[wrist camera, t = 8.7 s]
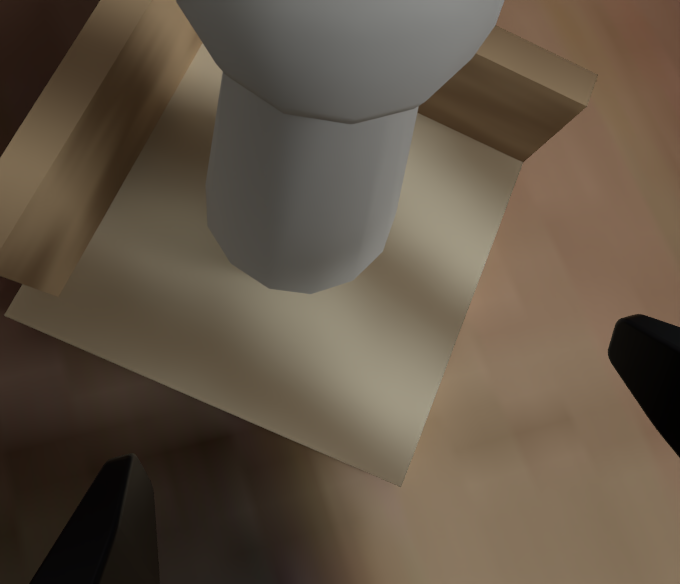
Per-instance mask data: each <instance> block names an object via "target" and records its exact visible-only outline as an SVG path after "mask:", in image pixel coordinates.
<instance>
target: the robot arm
mask: <svg viewBox="0 0 680 584" xmlns="http://www.w3.org/2000/svg"><path fill="white" fill-rule="evenodd" d="M608 356H609V359H610V362H611V363H612V365H613V366H614V368H615V369H616V371H617V372H618V374H619V375H620V377H621V378H622V380H623V381H624V383H625V384H626V386H627V387H628V389H629V390H630V392H631V393H632V394H633V396H634V397H635V399H636V400H637V402H638V403H639V405H640V406H641V408H642V409H643V411H644V412H645V414H646V415H647V417H648V418H649V419H650V421H651V422H652V424H653V425H654V426H655V428H656V429H657V430H658V432H659V433H660V434H661V436H662V437H663V438H664V439H665V441H666V442H667V443H668V444H669V445H670V447H671V448H672V449H673V450H674V451H675V453H676V454H677V455H678V456H679V457H680V327H678V326H675V325H672V324H669V323H666V322H663V321H660V320H657V319H654V318H651V317H648V316H645V315H642V314H636V315H632V316H628V317H624V318H621V319H619V320H618V321H617V322H616V325H615V328H614V331H613V334H612V338H611V341H610V345H609V348H608ZM29 584H160V578H159V561H158V547H157V532H156V517H155V502H154V492H153V487H152V484H151V481H150V479H149V477H148V475H147V474H146V472H145V470H144V468H143V466H142V464H141V463H140V461H139V459H138V457H137V456H136V455H135V454H133V453H131V454H130V453H129V454H126V455H122V456H118V457H115V458H111V459H109V460H108V461H107V462H106V463H105V464H104V465H103V467H102V468H101V470H100V472H99V473H98V475H97V476H96V478H95V480H94V481H93V483H92V484H91V486H90V488H89V489H88V491H87V492H86V494H85V496H84V497H83V499H82V500H81V502H80V504H79V505H78V507H77V508H76V510H75V512H74V513H73V515H72V516H71V518H70V520H69V521H68V523H67V524H66V526H65V527H64V529H63V531H62V532H61V534H60V535H59V537H58V539H57V540H56V542H55V543H54V545H53V547H52V548H51V550H50V551H49V553H48V555H47V556H46V558H45V559H44V561H43V563H42V564H41V566H40V567H39V569H38V571H37V572H36V574H35V575H34V577H33V579H32V580H31V582H30V583H29Z"/></svg>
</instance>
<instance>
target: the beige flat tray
mask: <svg viewBox="0 0 680 584" xmlns="http://www.w3.org/2000/svg"><path fill="white" fill-rule="evenodd" d="M222 73H223V71H222V70H221V69H220V68H219V67H218V66H217V64H216V63H215V61H214V60H213V58H212V57H211V55H210V54H209V52H208V51H207V49H206V47H205V46H204V44H203V43H202V41H201V40H200V38H199V37H198V35H197V33H196V32H195V30H194V29H193V27H192V26H191V24H190V23H189V21H188V19H187V18H186V16H185V15H184V13H183V12H182V10H181V9H180V7H179V5H178V4H177V2H176V0H100V2H99V3H98V5H97V6H96V8H95V10H94V11H93V13H92V14H91V16H90V17H89V19H88V21H87V22H86V24H85V25H84V27H83V28H82V30H81V32H80V33H79V35H78V36H77V38H76V39H75V41H74V43H73V44H72V46H71V47H70V49H69V50H68V52H67V54H66V55H65V57H64V58H63V60H62V61H61V63H60V65H59V66H58V68H57V69H56V71H55V73H54V74H53V76H52V77H51V79H50V80H49V82H48V84H47V85H46V87H45V88H44V90H43V91H42V93H41V95H40V96H39V98H38V99H37V101H36V102H35V104H34V106H33V107H32V109H31V110H30V112H29V113H28V115H27V117H26V118H25V120H24V121H23V123H22V124H21V126H20V128H19V129H18V131H17V132H16V134H15V135H14V137H13V139H12V140H11V142H10V143H9V145H8V146H7V148H6V150H5V151H4V153H3V154H2V156H1V157H0V276H2V277H4V278H7V279H10V280H13V281H15V282H18V283H21V284H22V286H21V287H20V289H19V291H18V293H17V294H16V296H15V298H14V299H13V301H12V303H11V305H10V306H9V308H8V310H7V311H6V313H5V315H4V316H6V317H9V318H11V319H13V320H16V321H18V322H20V323H23V324H25V325H27V326H29V327H32V328H34V329H36V330H39V331H41V332H43V333H46V334H48V335H50V336H53V337H55V338H57V339H60V340H62V341H64V342H66V343H69V344H71V345H73V346H76V347H78V348H80V349H83V350H85V351H87V352H90V353H92V354H94V355H97V356H99V357H101V358H103V359H106V360H108V361H110V362H113V363H115V364H117V365H120V366H122V367H124V368H127V369H129V370H131V371H133V372H136V373H138V374H140V375H143V376H145V377H147V378H150V379H152V380H154V381H157V382H159V383H161V384H164V385H166V386H168V387H170V388H173V389H175V390H177V391H180V392H182V393H184V394H187V395H189V396H191V397H194V398H196V399H198V400H201V401H203V402H205V403H207V404H210V405H212V406H214V407H217V408H219V409H221V410H224V411H226V412H228V413H231V414H233V415H235V416H237V417H240V418H242V419H244V420H247V421H249V422H251V423H254V424H256V425H258V426H261V427H263V428H265V429H268V430H270V431H272V432H274V433H277V434H279V435H281V436H284V437H286V438H288V439H291V440H293V441H295V442H298V443H300V444H302V445H305V446H307V447H309V448H311V449H314V450H316V451H318V452H321V453H323V454H325V455H328V456H330V457H332V458H335V459H337V460H339V461H341V462H344V463H346V464H348V465H351V466H353V467H355V468H358V469H360V470H362V471H365V472H367V473H369V474H372V475H374V476H376V477H378V478H381V479H383V480H385V481H388V482H390V483H392V484H395V485H397V486H399V487H401V486H402V483H403V481H404V478H405V475H406V473H407V470H408V467H409V465H410V462H411V459H412V457H413V454H414V451H415V449H416V446H417V443H418V441H419V438H420V435H421V433H422V430H423V427H424V425H425V422H426V419H427V417H428V414H429V411H430V409H431V406H432V403H433V401H434V398H435V395H436V393H437V390H438V387H439V385H440V382H441V379H442V377H443V374H444V371H445V369H446V366H447V363H448V361H449V358H450V355H451V353H452V350H453V347H454V345H455V342H456V339H457V337H458V334H459V332H460V329H461V326H462V324H463V321H464V318H465V316H466V313H467V310H468V308H469V305H470V302H471V300H472V297H473V294H474V292H475V289H476V286H477V284H478V281H479V278H480V276H481V273H482V270H483V268H484V265H485V262H486V260H487V257H488V254H489V252H490V249H491V246H492V244H493V241H494V238H495V236H496V233H497V230H498V228H499V225H500V222H501V220H502V217H503V214H504V212H505V209H506V206H507V204H508V201H509V198H510V196H511V193H512V190H513V188H514V185H515V183H516V180H517V177H518V175H519V172H520V169H521V167H522V164H523V162H524V161H525V160H526V159H527V158H529V157H530V156H531V155H532V154H533V153H534V152H535V151H537V150H538V149H539V148H540V147H541V146H542V145H543V144H545V143H546V142H547V141H548V140H549V139H550V138H551V137H553V136H554V135H555V134H556V133H557V132H558V131H559V130H561V129H562V128H563V127H564V126H565V125H566V124H567V123H568V122H570V121H571V120H572V119H573V118H574V117H575V116H576V115H578V114H579V113H580V112H581V111H582V110H583V109H584V108H586V107H587V105H588V102H589V99H590V96H591V93H592V90H593V88H594V85H595V82H596V79H597V76H598V74H595V73H593V72H591V71H589V70H587V69H585V68H583V67H581V66H579V65H577V64H575V63H573V62H571V61H568V60H566V59H564V58H562V57H560V56H558V55H556V54H554V53H552V52H550V51H548V50H546V49H544V48H542V47H539V46H537V45H535V44H533V43H531V42H529V41H527V40H525V39H523V38H521V37H519V36H517V35H515V34H513V33H510V32H508V31H506V30H504V29H502V28H500V27H498V26H496V25H495V27H494V28H493V29H492V31H491V32H490V34H489V35H488V37H487V38H486V39H485V41H484V42H483V44H482V45H481V47H480V48H479V49H478V51H477V52H476V54H475V55H474V57H473V58H472V59H471V60H470V61H469V62H468V63H467V64H466V65H465V66H463V67H462V68H461V69H460V70H459V71H458V72H457V73H456V74H455V75H454V76H453V77H452V78H450V79H449V80H448V81H447V82H446V83H445V84H444V85H443V86H442V87H441V88H440V89H439V90H437V91H436V92H435V93H434V94H433V95H432V96H431V97H430V98H429V99H428V100H427V101H426V102H424V103H423V104H421V105H419V107H418V112H417V117H416V122H415V126H414V131H413V136H412V141H411V145H410V150H409V155H408V159H407V164H406V169H405V174H404V178H403V183H402V188H401V193H400V197H399V202H398V207H397V211H396V215H395V218H394V221H393V224H392V227H391V229H390V232H389V235H388V238H387V241H386V244H385V247H384V249H383V252H382V253H381V254H380V255H379V256H378V257H377V258H376V259H375V260H374V261H373V262H372V263H371V264H370V265H369V266H367V267H366V268H365V269H364V270H363V271H362V272H361V273H360V274H359V275H358V276H357V277H356V278H355V279H354V280H353V281H350V282H347V283H344V284H341V285H338V286H335V287H332V288H329V289H326V290H322V291H319V292H316V293H313V294H305V293H298V292H290V291H282V290H275V289H269V288H267V287H266V286H264V285H263V284H261V283H260V282H258V281H257V280H255V279H253V278H252V277H250V276H249V275H247V274H246V273H244V272H243V271H241V270H240V269H238V268H237V267H235V266H234V265H232V264H231V263H230V261H229V260H228V258H227V257H226V255H225V253H224V252H223V250H222V249H221V247H220V245H219V244H218V242H217V241H216V239H215V237H214V236H213V234H212V233H211V231H210V229H209V228H208V226H207V206H206V187H205V184H206V177H207V171H208V164H209V158H210V151H211V145H212V138H213V132H214V125H215V119H216V112H217V106H218V99H219V93H220V86H221V80H222Z"/></svg>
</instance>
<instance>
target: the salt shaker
mask: <svg viewBox="0 0 680 584" xmlns="http://www.w3.org/2000/svg"><path fill="white" fill-rule="evenodd" d="M176 2H177V4H178V5H179V7H180V9H181V10H182V12H183V13H184V15H185V16H186V18H187V19H188V21H189V23H190V24H191V26H192V27H193V29H194V30H195V32H196V33H197V35H198V37H199V38H200V40H201V41H202V43H203V44H204V46H205V47H206V49H207V51H208V52H209V54H210V55H211V57H212V58H213V60H214V61H215V63H216V64H217V66H218V67H219V68H220V69H221V70H222V71H223V73H222V80H221V86H220V93H219V99H218V106H217V112H216V119H215V125H214V132H213V138H212V145H211V151H210V158H209V164H208V171H207V177H206V184H205V187H206V206H207V226H208V228H209V229H210V231H211V233H212V234H213V236H214V237H215V239H216V241H217V242H218V244H219V245H220V247H221V249H222V250H223V252H224V253H225V255H226V257H227V258H228V260H229V261H230V263H231V264H232V265H234V266H235V267H237V268H238V269H240V270H241V271H243V272H244V273H246V274H247V275H249V276H250V277H252V278H253V279H255V280H257V281H258V282H260V283H261V284H263V285H264V286H266V287H267V288H269V289H275V290H282V291H290V292H298V293H305V294H313V293H316V292H319V291H322V290H326V289H329V288H332V287H335V286H338V285H341V284H344V283H347V282H350V281H353V280H354V279H355V278H356V277H357V276H358V275H359V274H360V273H361V272H362V271H363V270H364V269H365V268H366V267H367V266H369V265H370V264H371V263H372V262H373V261H374V260H375V259H376V258H377V257H378V256H379V255H380V254H381V253H382V252H383V249H384V247H385V244H386V241H387V238H388V235H389V232H390V229H391V227H392V224H393V221H394V218H395V215H396V211H397V207H398V202H399V197H400V193H401V188H402V183H403V178H404V174H405V169H406V164H407V159H408V155H409V150H410V145H411V141H412V136H413V131H414V126H415V122H416V117H417V112H418V107H419V105H421V104H423V103H424V102H426V101H427V100H428V99H429V98H430V97H431V96H432V95H433V94H434V93H435V92H436V91H437V90H439V89H440V88H441V87H442V86H443V85H444V84H445V83H446V82H447V81H448V80H449V79H450V78H452V77H453V76H454V75H455V74H456V73H457V72H458V71H459V70H460V69H461V68H462V67H463V66H465V65H466V64H467V63H468V62H469V61H470V60H471V59H472V58H473V57H474V55H475V54H476V52H477V51H478V49H479V48H480V47H481V45H482V44H483V42H484V41H485V39H486V38H487V37H488V35H489V34H490V32H491V31H492V29H493V28H494V27H495V25H496V22H497V19H498V16H499V14H500V11H501V8H502V5H503V3H504V0H176Z"/></svg>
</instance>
